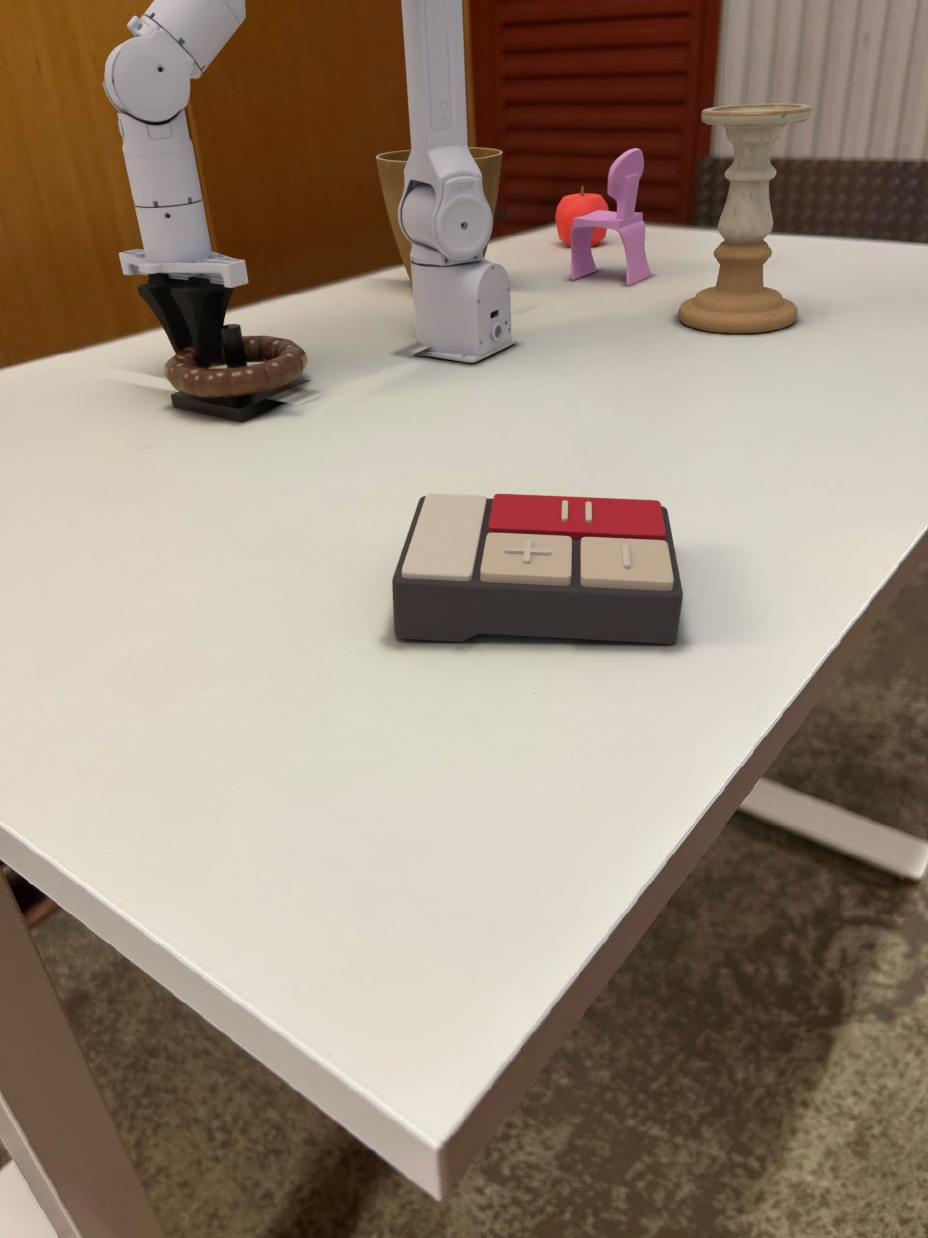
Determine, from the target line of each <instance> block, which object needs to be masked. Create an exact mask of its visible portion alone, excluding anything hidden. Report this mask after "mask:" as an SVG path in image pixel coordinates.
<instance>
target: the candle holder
mask: <svg viewBox="0 0 928 1238" xmlns="http://www.w3.org/2000/svg"><path fill="white" fill-rule="evenodd" d="M813 108H814V107H813V106H812V105H810V104H806V103H793V102H792V103H790V102H789V103H787V102H785V103H784V102H781V103H779V102H777V103H776V102H775V103H774V102H773V103H772V102H771V103H746V104H731V105H721V106H712V107H708V108H707V107H706V108H704V109H703V110H702V111H701V113H700V119H701V122H702V123H704V124H706V125H711V126H720V127H721V126H723V127H724V128H725V134H726V137H727V140H728V141H729V142H730V143H731V144H732V147H733V152H734V154H733V155H734V156H733V160H732V163H731V165H729V167H728V168H727V169H725V171H724V174H723V175H724V178H725V179H726V180H727V181H729V187H728V190H727V191H728V192H727V195H726V199H725V203H724V206H723V209H722V211H721V214H720V216H719V218H718V222H717V230H718V233H719V235H720V236H721V237H722V238H723V241H721V242H720V243H719V245H718V246H717V247H716V248H715V249H714V250H713V257H714V259H716V262H717V263H718V264H719V268H718V274H717V279H716V283H715V285H714V286H711V287H706V288H704V289H701V290H699V291H698V292H696V294H695V295H694V297H691V298H688V299H686V300H684V301H683V302H682V303H681V304H680V306H679V308H678V319H679V321H680V322H681V323H682V324H683V325H685V326H688V327H689V328H693V329H695V330H700V331H706V332H712V333H719V334H757V333H766V332H767V333H768V332H773V331H776V330H777V331H778V330H781V329H785V328H787V327H789V326H791V325H792V324H794V323H795V322H796V319H797V316H798V308H797V307H798V306H797V305H796V304H795V303H794V302H793V301H791V300H790V299H787V298H784V297H783V295H782V293H781V292H780V291H778V290H776V289H774V288H771V287H766V286H764V265H765V264H766V263H767V261H769V259H770V258H771V257H772V254H773V250H772V248H771V247H770V246H769V244H768V242H767V241H766V240H765V239H766V238H767V236H769V235H770V234H771V232H772V231H773V228H774V218H773V211H772V208H771V200H770V181H771V180H773V179H774V178H775V177H776V176H777V169H776V168H775V167H774V166H773V165H772V162H771V152H772V151H771V150H772V148H773V145H774V144H775V143H776V142H777V141H778V140H779V139H780V137H782V134H783V132H784V128H785V126H786V125H787V124H795V123H802V122H805V121H807V120H809V119H811V117H812V115H813V112H814V111H813Z"/></svg>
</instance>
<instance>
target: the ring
mask: <svg viewBox="0 0 928 1238" xmlns="http://www.w3.org/2000/svg"><path fill="white" fill-rule="evenodd" d="M242 338H243V344H244V349H245V355H246V361H247V363H254V364H247V366H243V367H237V368H227V367H225V368H224V367H223V368H222V366H227V364H226V359H225V353H224V348H223V342H222V351H221V360H219V361H216V362H213V363H210V364H207V365H202V364H200V362H199V360H198V358H197V356H196V353H195V350H194V346H190V347H187V348H184V349H182V350H180V351H179V352H177V353H175V354H173V356H171V357H170V358H169V359H168V360H167V361H166V362H165V364H164V368H163V369H164V375H165V377H166V379H167V380H168V382H169V383H170V384H171V386H172V387H173V389H174V390H176V392H182V393H187V394H191V395H196V396H200V397H239V396H245V395H250V394H256V393H261V392H267V391H271V390H273V389H276V388H278V387H281V386H283V385H286V384H288V383H290V382H293V381H295V380H296V379H297V378H300V376H301V374H302V373H303V372H304V371H305V369H306V367H307V366H308V355H307V352H305V350H304V349H303V348H302V347H300V345H298V344H297V343H296V342H294V341H293V340H291V339H289V338H283V337H277V336H270V335H242ZM215 367H221V368H215Z"/></svg>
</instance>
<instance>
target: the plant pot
mask: <svg viewBox="0 0 928 1238" xmlns="http://www.w3.org/2000/svg"><path fill="white" fill-rule="evenodd" d="M468 150H469V152H470V154H471V155H472V157H473V159H474V161H475V162H476V164H477V166H478V168H479V170H480V172H481V174H482V186H483V192H484V196H485V198H486V200H487V203H488V205H489V207H490V209H491V212H492V218H493V220H494V219H495V213H496V208H497V207H496V206H497V200H498V195H499V187H500V181H501V180H500V179H501V171H502V163H503V153H504V152H503V151H502V150H501V149H497V148H489V147H475V146H468ZM410 153H411V149H404V150H397V151H388V152H383V153H379V154H377V155H375V160H376V166H377V172H378V177H379V182H380V187H381V191H382V195H383V199H384V204H385V208H386V212H387V215H388V219H389V222H390V227H391V229H392V230H391V231H392V233H393V235H394V239H395V243H396V246H397V248H398V251H399V255H400V258H401V260H402V263H403V266H404V268H405V271H406V274H407V276H408V278H409V281H410V283H411V284H412V274H411V260H410V252H411V249H412V243H411V242H410V241H409V240H408V239H407V238H406V237H405V235H404V234H403V232H402V230H401V228H400V225H399V221H398V208H399V203H400V201H401V198H402V195H403V192H404V185H405V180H404V169H405V166H406V163H407V161H408V158H409V156H410ZM489 242H490V240H489V241H488V243H487V245H486V246H485V248H484V249H483V257H484V258H485V257H486V254H487V249H488V247H489V246H488V245H489ZM485 259H486V258H485Z"/></svg>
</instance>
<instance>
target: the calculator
mask: <svg viewBox="0 0 928 1238" xmlns="http://www.w3.org/2000/svg"><path fill="white" fill-rule="evenodd" d="M676 554H677V553H676V549H675V543H674V540H673V532H672V527H671V522H670V516H669V511H668V508H667V507H666V506H664V505H662V503H661V502H660V500H658V499H657V500H656V499H635V498H614V497H591V496H568V495H567V496H566V495H545V494H543V495H541V494H518V493H517V494H516V493H515V494H514V493H495V494H494V495H493V498H487V497H486V496H485V495H473V494H450V493H449V494H447V493H427V494H426V495H424V496H421V497H420V498H419V500H418V502H417V505H416V507H415V511H414V513H413V517H412V519H411V523H410V525H409V528H408V531H407V534H406V538H405V541H404V543H403V546H402V549H401V553H400V555H399V558H398V562H397V564H396V566H395V570H394V573H393V577H392V581H391V582H392V584H391V587H392V608H393V609H392V611H393V628H394V629H393V630H394V631H393V632H394V635H395V637H396V638H398V639H401V640H418V641H419V640H420V641H436V642H437V641H438V642H452V643H453V642H455V643H463V642H464V641H467V640H469V639H471V638H473V637H475V636H477V635H499V636H500V635H501V636H516V637H517V636H519V637H520V636H521V637H536V638H537V637H538V638H557V639H573V640H590V641H591V640H593V641H609V642H628V643H629V642H630V643H644V644H645V643H646V644H663V645H664V644H665V645H667V644H669V645H671V644H674V643H676V641H677V639H678V634H679V627H680V620H681V619H680V618H681V612H682V611H681V610H682V606H683V599H684V598H683V597H684V593H683V587H682V582H681V577H680V571H679V565H678V560H677V555H676Z"/></svg>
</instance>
